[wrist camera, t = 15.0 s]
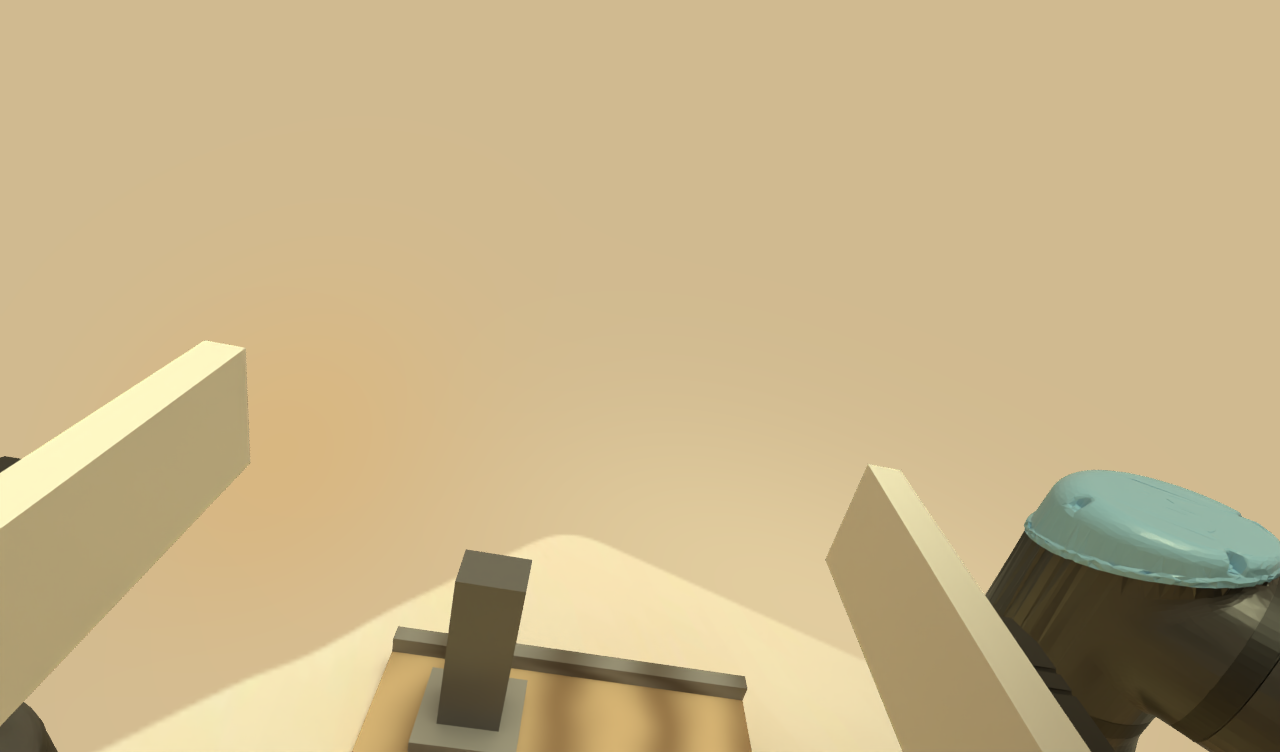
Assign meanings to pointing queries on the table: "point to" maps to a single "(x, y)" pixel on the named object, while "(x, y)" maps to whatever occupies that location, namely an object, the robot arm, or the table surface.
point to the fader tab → (477, 663)
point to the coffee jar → (24, 732)
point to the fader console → (573, 702)
